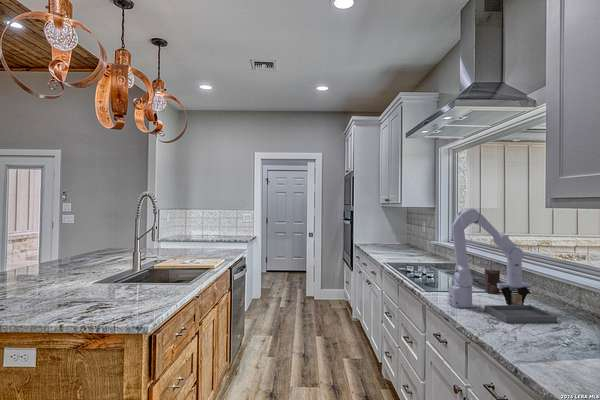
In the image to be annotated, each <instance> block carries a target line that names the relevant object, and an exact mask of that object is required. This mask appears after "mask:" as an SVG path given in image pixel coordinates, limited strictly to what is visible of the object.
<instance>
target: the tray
mask: <svg viewBox="0 0 600 400" xmlns="http://www.w3.org/2000/svg"><path fill="white" fill-rule="evenodd" d="M484 312H485V313H487V314H489V315H491V316H493V317H494V318H496V319H498V320H499V321H501V322H503V323H506V324H546V323H547V324H548V323H549V324H552V323H553V324H555V323H556V324H557V323H558V316H557V315H555V314H553V313H551V312H548V311H545V310H543V309H541V308H539V307H535V306H534V305H532V304H523V305H507V304H505V305H504V304H492V305H491V304H490V305H489V304H484Z"/></svg>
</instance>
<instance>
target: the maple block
mask: <svg viewBox="0 0 600 400" xmlns="http://www.w3.org/2000/svg"><path fill="white" fill-rule="evenodd" d="M511 305H522V295H520V294H518V292H514V293H513V292H512V293H511Z"/></svg>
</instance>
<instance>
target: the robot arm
mask: <svg viewBox="0 0 600 400" xmlns="http://www.w3.org/2000/svg"><path fill="white" fill-rule="evenodd" d="M472 224H475V225H478V226H479V227H481V228H482V229H483V230H484V231H485V232H487V233H488V235H489V236H491V237H492V242H493V243H494V244H495V245H496V246H497V247H498V249H499V250H501V251H502V252H503V253H504V256H505V257H506V282H500V283H497V288H499V290H500V291H501V293H502V294H503V298H504V299H505V303H506V304H505V305H511V293H513V291H512V290H511V289H517V294H520V295H522V305H524V303H525V300H526V297H527V296H528V293H529V292H530V289H533V284H532V283H530V282H523V268H522V267H523V263H522V262H523V261H522V260H523V258H525V254H524V253H523V252H524V251H523V250H522V248H520V247H517V244H516V243H515V242H513V241H512V240H511V239H510V238H509V237H510V236H509V235H508V234H505V233H503V232H499V230H497V229H496V227H494V226H493V225H492V224H491V222H490V221H488V219H487V218H486V217H485V216H484V215H483V214H481V212H479V211H478V210H477V209H475V208H473V207H472V208H468V207H467V208H466V207H464V208H463V209H461V210H460V211H458V213H457V214H456V217H455V219H454V221H453V223H452V225H451V229H452V231H451V232H452V240H453V248H454V258H455V266H454V273H453V279H454V280H455V282H454V285H450V286H449V287H448V301H447V303H448V304H449V305H451V306H452V307H454V308H477V306H476V305H474V304H473V283H474V277H473V275H472V273H471V269H470V267H469V261H468V251H467V244H466V243H467V242H466V236H465V235H466V234H465V230H466V229H467V228H468V227H469V226H470V225H472Z"/></svg>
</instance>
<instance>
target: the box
mask: <svg viewBox="0 0 600 400" xmlns="http://www.w3.org/2000/svg"><path fill="white" fill-rule="evenodd" d="M500 272H501V270H499V269H496V268H484V292H485V293H486V292H487V293H486V294H500V289H499V288H497V283H501V281H500V279H501V278H500V277H501V276H500V275H501V274H500Z"/></svg>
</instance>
